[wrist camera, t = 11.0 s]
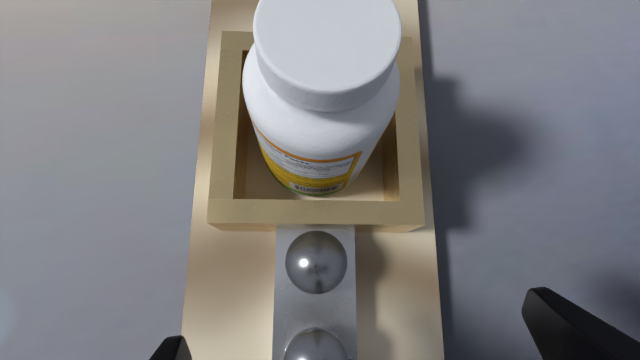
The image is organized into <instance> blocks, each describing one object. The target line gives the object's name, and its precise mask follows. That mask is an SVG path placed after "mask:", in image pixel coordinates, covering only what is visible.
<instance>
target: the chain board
mask: <svg viewBox="0 0 640 360" xmlns="http://www.w3.org/2000/svg"><path fill="white" fill-rule="evenodd" d="M393 1H394V2H395V4H396V6H397V9H398V11H399V14H400V18H401V23H402V37H412V44H413V58H414V73H415V87H416V102H417V116H418V131H419V145H420V160H421V174H422V189H423V203H424V217H425V225H424V226H421V227H418V228H416V229H413V230H411V231H408V232H406V233H380V232H355V275H356V324H357V360H444V347H443V334H442V321H441V308H440V294H439V281H438V268H437V255H436V241H435V228H434V215H433V202H432V188H431V175H430V162H429V149H428V135H427V122H426V109H425V96H424V82H423V69H422V56H421V43H420V29H419V16H418V3H417V0H393ZM258 3H259V0H212V4H211V15H210V26H209V37H208V48H207V59H206V69H205V80H204V91H203V102H202V113H201V124H200V135H199V146H198V157H197V168H196V179H195V190H194V200H193V211H192V222H191V233H190V244H189V255H188V266H187V277H186V288H185V299H184V310H183V320H182V331H181V335H182V336H184V337H185V339H186V342H187V345H188V347H189V350H190V353H191V356H192V360H272V341H273V311H274V281H275V251H276V232H262V231H221V230H219V229H217V228H215V227H213V226H211V225H209V224H208V223H206V221H207V209H208V196H209V184H210V172H211V160H212V147H213V135H214V123H215V110H216V98H217V86H218V74H219V61H220V49H221V37H222V31H245V32H253V20H254V14H255V11H256V8H257V5H258ZM245 199H275V200H354V201H384V191H383V166H382V142H381V138H380V140H379V142H378V143H377V145H376V147H375V149H374V150H373V152H372V154H371V155H370V157H369V159H368V161H367V163H366V164H365V166H364V168H363V170H362V171H361V173H360V174H359V176H358V177H357V178H356V179H355V181H354V182H352V183H351V184H350V185H349V186H348V187H346V188H345V189H343V190H342V191H340V192H338V193H335V194H332V195H329V196H323V197H309V196H303V195H300V194H297V193H294V192H292V191H290V190H288V189H286V188H285V187H283V186H282V185H281V184H280V183H279V182H278V181H277V180H276V179H275V178H274V177H273V175H272V174H271V173H270V171H269V169H268V167H267V165H266V163H265V160H264V158H263V155H262V151H261V148H260V145H259V142H258V139H257V136H256V133H255V130H254V127H253V124H252V121H251V118H250V115H249V130H248V148H247V166H246V184H245Z"/></svg>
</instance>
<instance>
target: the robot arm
mask: <svg viewBox="0 0 640 360" xmlns="http://www.w3.org/2000/svg"><path fill="white" fill-rule="evenodd" d="M522 316H523V319H524V321H525V323H526V325H527V327H528V329H529V331H530V333H531V336H532V338H533V340H534V342H535V344H536V346H537V348H538V350H539V352H540V354H541V356H542V358H543V360H640V342H638V341H636V340H635V339H633V338H631V337H629V336H628V335H626V334H624V333H623V332H621V331H619V330H618V329H616V328H614V327H613V326H611V325H609V324H608V323H606V322H604V321H603V320H601V319H599V318H598V317H596V316H594V315H592V314H591V313H589V312H587V311H586V310H584V309H582V308H581V307H579V306H577V305H576V304H574V303H572V302H571V301H569V300H567V299H566V298H564V297H562V296H560V295H559V294H557V293H555V292H554V291H552V290H550V289H549V288H546V287H537V288H531V289H529V290H528V292H527V294H526V297H525V300H524V303H523V306H522ZM149 360H192V356H191V353H190V350H189V347H188V345H187V342H186V339H185V337H184V336H182V335H179V336H171V337H167V338H166V339H165V340H164V341H163V342H162V343H161V344H160V346H159V347H158V348H157V350H156V351H155V352H154V354H153V355H152V356H151V358H150V359H149Z"/></svg>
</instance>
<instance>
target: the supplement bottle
mask: <svg viewBox="0 0 640 360" xmlns="http://www.w3.org/2000/svg"><path fill="white" fill-rule="evenodd" d="M253 35H254V44H253V45H252V47H251V49H250V51H249V53H248V55H247V58H246V61H245V64H244V68H243V77H242V86H243V93H244V98H245V102H246V106H247V109H248V112H249V115H250V118H251V121H252V124H253V127H254V130H255V133H256V136H257V139H258V142H259V145H260V148H261V151H262V155H263V158H264V160H265V163H266V165H267V167H268V169H269V171H270V173H271V174H272V175H273V177H274V178H275V179H276V180H277V181H278V182H279V183H280V184H281V185H282V186H283V187H285V188H286V189H288V190H290V191H292V192H294V193H297V194H300V195H303V196H309V197H323V196H329V195H332V194H335V193H338V192H340V191H342V190H343V189H345V188H346V187H348V186H349V185H350V184H351V183H352V182H354V181H355V179H356V178H357V177H358V176H359V174H360V173H361V171H362V170H363V168H364V166H365V164H366V163H367V161H368V159H369V157H370V155H371V154H372V152H373V150H374V149H375V147H376V145H377V143H378V142H379V140H380V138H381V136H382V135H383V133H384V132H385V130H386V128H387V126H388V124H389V122H390V120H391V118H392V116H393V114H394V111H395V109H396V106H397V103H398V98H399V93H400V75H399V69H398V65H397V62H396V57H397V55H398V52H399V49H400V45H401V41H402V23H401V18H400V14H399V11H398V9H397V6H396V4H395V2H394V1H393V0H259V3H258V5H257V8H256V11H255V14H254V20H253Z"/></svg>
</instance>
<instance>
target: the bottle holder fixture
mask: <svg viewBox="0 0 640 360" xmlns="http://www.w3.org/2000/svg"><path fill="white" fill-rule="evenodd" d="M253 44H254V35H253V32H245V31H222V37H221V49H220V61H219V74H218V86H217V98H216V110H215V123H214V135H213V147H212V160H211V172H210V184H209V196H208V209H207V221H206V223H208V224H209V225H211V226H213V227H215V228H217V229H219V230H221V231H262V232H276V251H275V281H274V311H273V341H272V360H357V324H356V275H355V232H380V233H406V232H408V231H411V230H413V229H416V228H418V227H421V226H424V225H425V217H424V203H423V189H422V174H421V160H420V145H419V131H418V116H417V102H416V87H415V73H414V58H413V44H412V37H402V41H401V45H400V49H399V52H398V55H397V57H396V62H397V65H398V69H399V75H400V93H399V98H398V103H397V106H396V109H395V111H394V114H393V116H392V118H391V120H390V122H389V124H388V126H387V128H386V130H385V132H384V133H383V135H382V136H381V142H382V166H383V191H384V201H354V200H275V199H245V184H246V166H247V148H248V130H249V112H248V109H247V106H246V102H245V98H244V93H243V86H242V77H243V68H244V64H245V61H246V58H247V55H248V53H249V51H250V49H251V47H252V45H253Z"/></svg>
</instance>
